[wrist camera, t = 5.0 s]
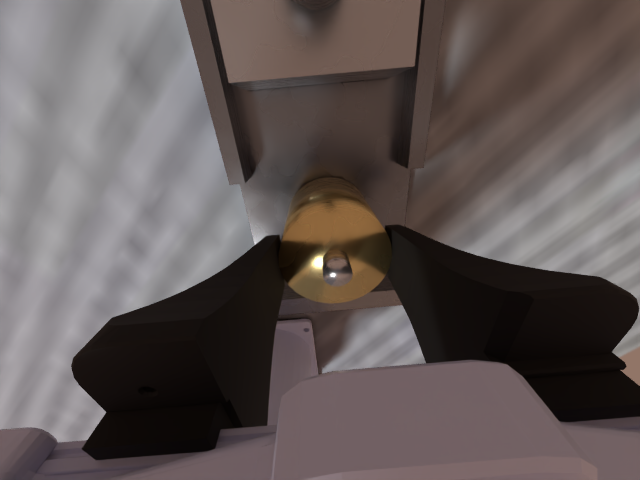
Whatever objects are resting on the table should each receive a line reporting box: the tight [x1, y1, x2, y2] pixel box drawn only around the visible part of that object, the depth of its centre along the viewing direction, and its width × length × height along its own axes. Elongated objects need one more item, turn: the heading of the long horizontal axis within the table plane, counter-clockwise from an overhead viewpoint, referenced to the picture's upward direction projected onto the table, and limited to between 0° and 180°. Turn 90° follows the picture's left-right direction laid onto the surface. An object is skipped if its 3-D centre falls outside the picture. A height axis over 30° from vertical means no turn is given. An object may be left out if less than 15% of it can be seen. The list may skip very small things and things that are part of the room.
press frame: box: [180, 0, 446, 315], centre depth 12 cm, size 16×10×4 cm, turn 4°
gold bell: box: [279, 177, 392, 303], centre depth 12 cm, size 5×5×6 cm
